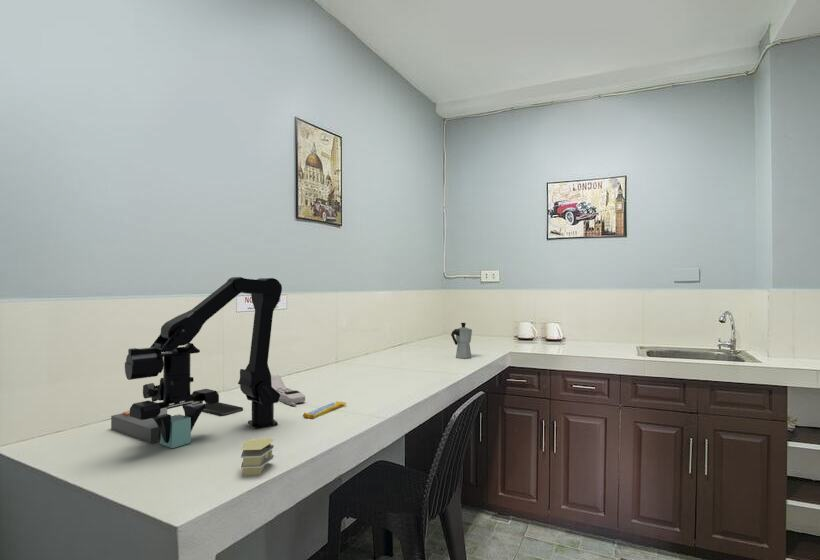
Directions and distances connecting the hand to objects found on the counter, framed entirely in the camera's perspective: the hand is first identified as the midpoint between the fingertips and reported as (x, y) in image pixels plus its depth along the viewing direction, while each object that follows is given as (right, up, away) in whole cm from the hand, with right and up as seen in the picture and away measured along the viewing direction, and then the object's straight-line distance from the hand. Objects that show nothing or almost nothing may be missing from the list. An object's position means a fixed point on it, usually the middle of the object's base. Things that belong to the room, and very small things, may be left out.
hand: (176, 439), depth 108 cm
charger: (-1, -1, +1) cm, 2 cm away
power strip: (-13, -1, +9) cm, 16 cm away
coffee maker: (+82, -3, +127) cm, 151 cm away
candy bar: (+30, -2, +28) cm, 41 cm away
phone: (-3, -2, +30) cm, 31 cm away
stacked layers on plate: (+24, -2, -14) cm, 28 cm away
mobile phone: (+13, -2, +44) cm, 46 cm away
